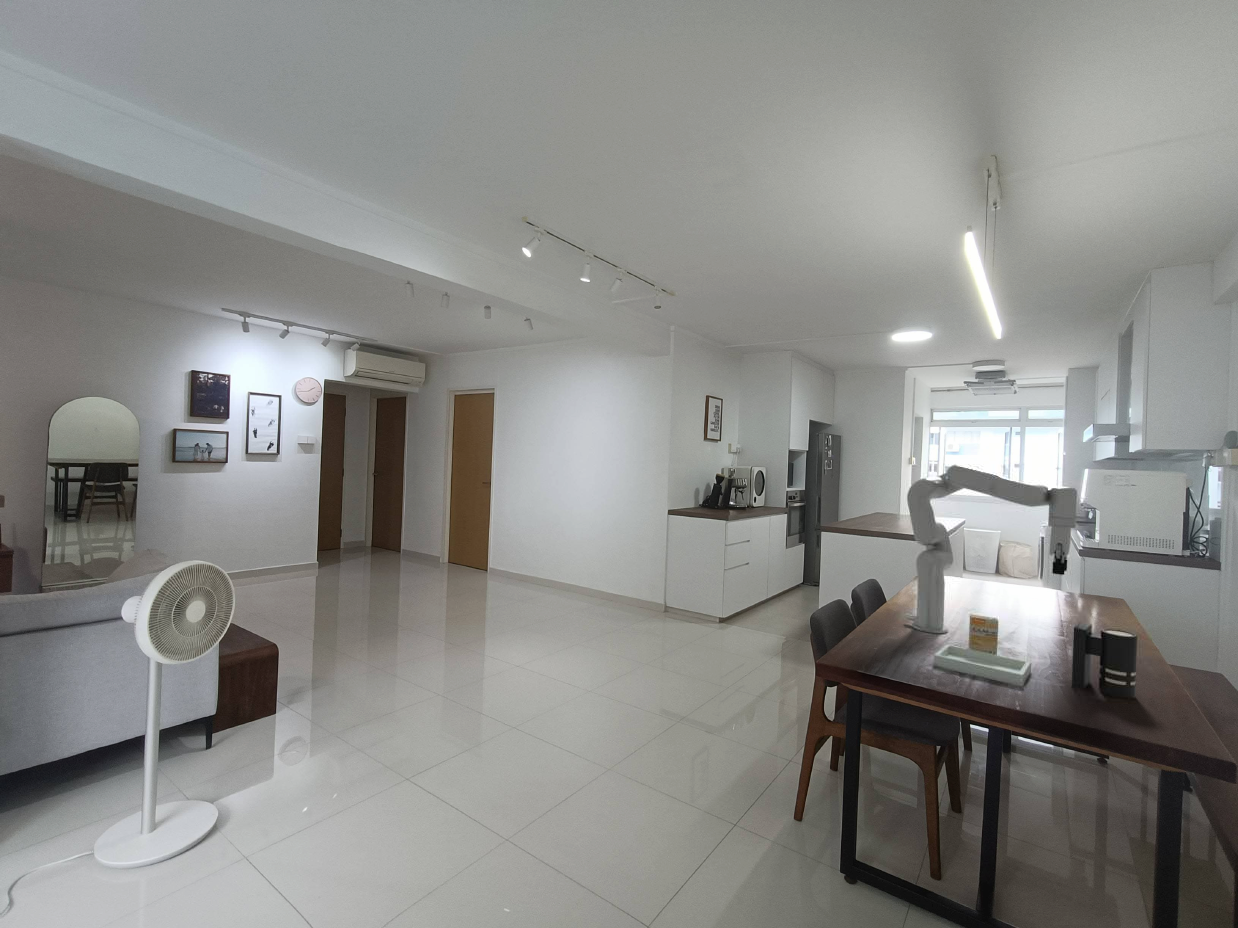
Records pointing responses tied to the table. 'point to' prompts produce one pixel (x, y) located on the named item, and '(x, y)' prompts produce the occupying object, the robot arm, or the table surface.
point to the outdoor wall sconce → (1105, 660)
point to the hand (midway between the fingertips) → (1059, 572)
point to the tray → (983, 664)
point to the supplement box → (983, 633)
